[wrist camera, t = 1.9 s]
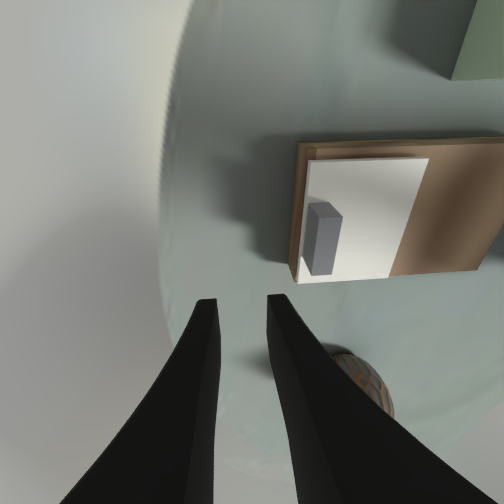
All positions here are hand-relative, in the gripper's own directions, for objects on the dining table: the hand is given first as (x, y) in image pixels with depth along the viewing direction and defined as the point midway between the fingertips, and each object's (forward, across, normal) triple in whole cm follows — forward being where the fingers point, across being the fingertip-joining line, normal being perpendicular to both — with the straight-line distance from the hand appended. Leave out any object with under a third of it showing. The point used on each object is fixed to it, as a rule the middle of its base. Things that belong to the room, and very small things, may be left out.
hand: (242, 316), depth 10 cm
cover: (+7, -7, 0) cm, 10 cm away
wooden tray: (+9, -11, 0) cm, 14 cm away
